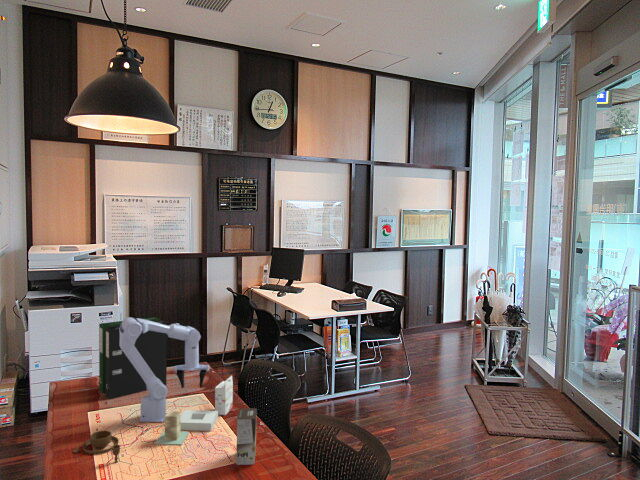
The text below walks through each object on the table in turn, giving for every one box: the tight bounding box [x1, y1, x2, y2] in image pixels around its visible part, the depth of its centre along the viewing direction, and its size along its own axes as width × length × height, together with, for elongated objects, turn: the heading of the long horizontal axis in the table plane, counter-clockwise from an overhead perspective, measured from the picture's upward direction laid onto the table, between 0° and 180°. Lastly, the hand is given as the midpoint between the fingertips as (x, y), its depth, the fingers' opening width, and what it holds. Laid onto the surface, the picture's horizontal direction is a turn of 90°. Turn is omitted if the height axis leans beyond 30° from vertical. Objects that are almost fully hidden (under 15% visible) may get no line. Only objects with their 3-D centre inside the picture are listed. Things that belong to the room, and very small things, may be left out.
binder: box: [98, 316, 168, 401], centre depth 228 cm, size 27×15×32 cm, turn 132°
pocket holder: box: [180, 409, 219, 432], centre depth 192 cm, size 14×12×3 cm
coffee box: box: [235, 407, 258, 466], centre depth 166 cm, size 9×6×16 cm
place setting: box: [73, 430, 123, 464], centre depth 168 cm, size 18×20×6 cm
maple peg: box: [164, 410, 182, 440], centre depth 179 cm, size 4×4×9 cm
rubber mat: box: [154, 430, 190, 446], centre depth 179 cm, size 10×10×1 cm
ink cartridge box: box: [214, 375, 234, 416], centre depth 205 cm, size 9×5×15 cm, turn 169°
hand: (192, 387), depth 204 cm, fingers open, 7 cm apart
